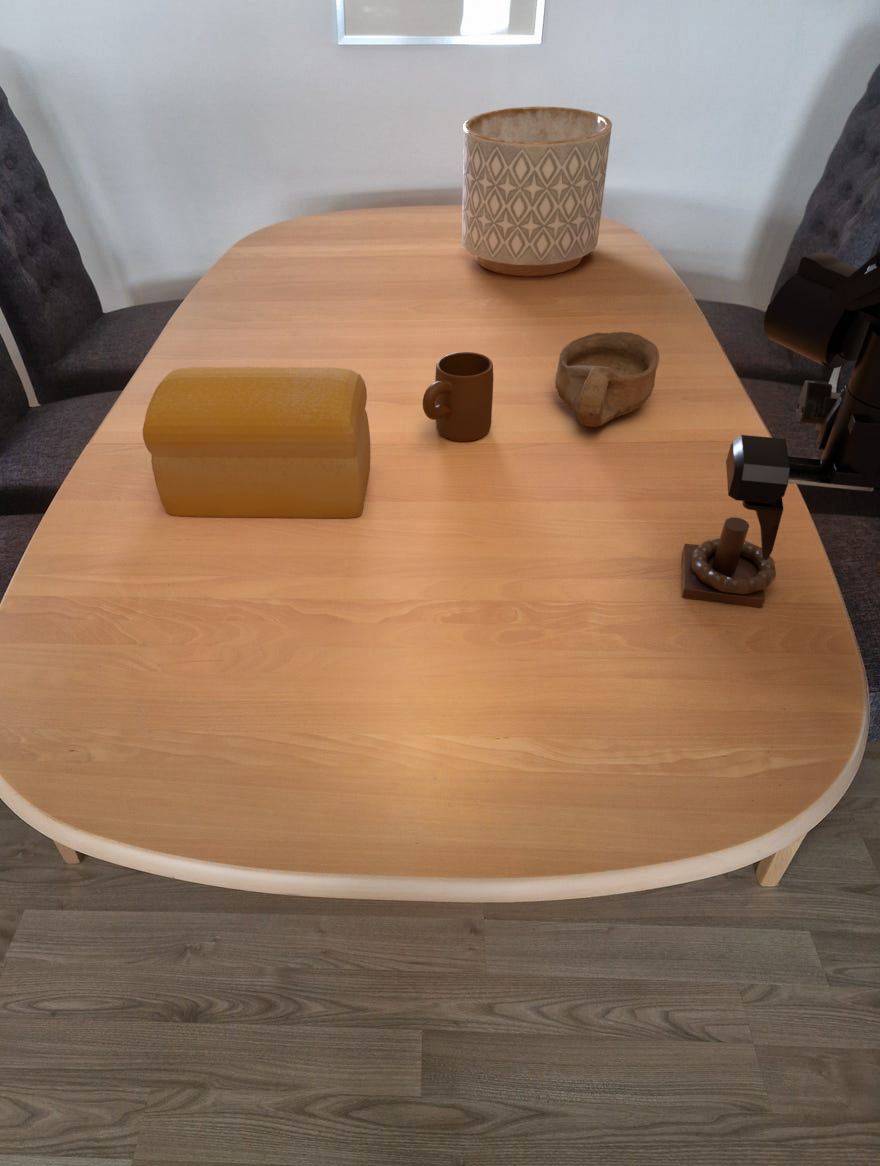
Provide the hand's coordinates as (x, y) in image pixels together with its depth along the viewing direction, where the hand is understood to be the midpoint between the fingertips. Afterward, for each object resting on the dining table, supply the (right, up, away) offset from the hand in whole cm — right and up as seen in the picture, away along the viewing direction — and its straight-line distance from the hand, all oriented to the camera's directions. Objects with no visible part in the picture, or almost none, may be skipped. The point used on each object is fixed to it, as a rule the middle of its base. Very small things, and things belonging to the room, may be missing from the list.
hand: (821, 563), depth 71 cm
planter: (-11, +67, +90) cm, 112 cm away
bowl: (-8, +25, +46) cm, 53 cm away
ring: (-1, +1, +17) cm, 18 cm away
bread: (-52, +12, +35) cm, 64 cm away
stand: (-1, 0, +19) cm, 19 cm away
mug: (-28, +21, +43) cm, 55 cm away
